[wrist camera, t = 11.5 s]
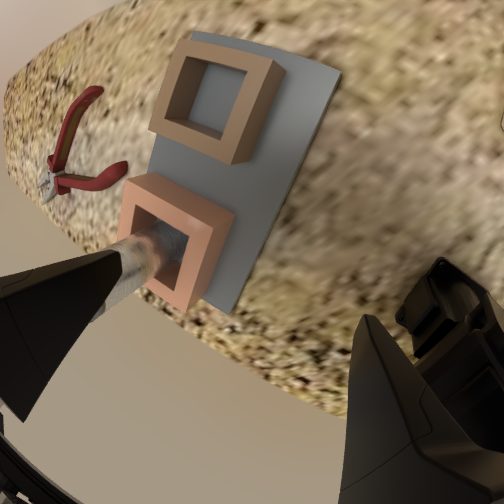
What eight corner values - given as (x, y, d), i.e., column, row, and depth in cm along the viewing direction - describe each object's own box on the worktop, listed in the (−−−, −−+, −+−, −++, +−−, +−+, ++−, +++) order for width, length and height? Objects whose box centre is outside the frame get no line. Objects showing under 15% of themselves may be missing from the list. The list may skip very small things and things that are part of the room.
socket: (235, 214, 22) (213, 228, 19) (205, 293, 26) (185, 313, 23) (154, 172, 23) (126, 179, 20) (138, 249, 27) (114, 263, 24)
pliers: (37, 161, 32) (24, 164, 30) (105, 80, 23) (87, 80, 21) (59, 227, 35) (45, 233, 33) (135, 171, 26) (116, 176, 23)
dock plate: (342, 75, 16) (336, 59, 12) (233, 309, 26) (213, 334, 23) (200, 33, 18) (171, 20, 14) (138, 248, 28) (111, 263, 25)
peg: (192, 213, 23) (80, 272, 13) (200, 254, 24) (101, 328, 14) (160, 215, 24) (53, 268, 15) (168, 253, 26) (72, 316, 16)
